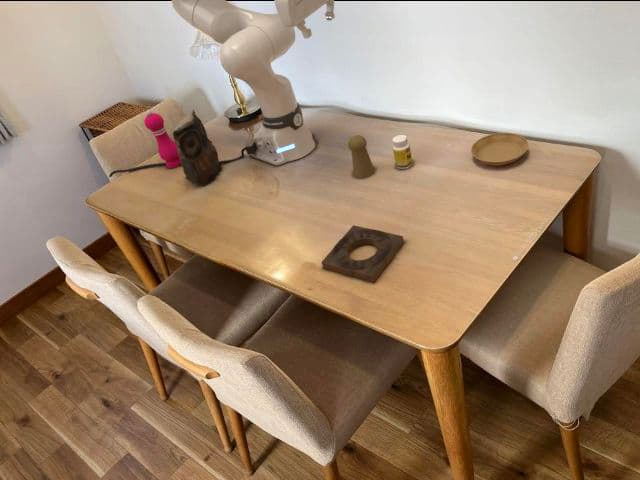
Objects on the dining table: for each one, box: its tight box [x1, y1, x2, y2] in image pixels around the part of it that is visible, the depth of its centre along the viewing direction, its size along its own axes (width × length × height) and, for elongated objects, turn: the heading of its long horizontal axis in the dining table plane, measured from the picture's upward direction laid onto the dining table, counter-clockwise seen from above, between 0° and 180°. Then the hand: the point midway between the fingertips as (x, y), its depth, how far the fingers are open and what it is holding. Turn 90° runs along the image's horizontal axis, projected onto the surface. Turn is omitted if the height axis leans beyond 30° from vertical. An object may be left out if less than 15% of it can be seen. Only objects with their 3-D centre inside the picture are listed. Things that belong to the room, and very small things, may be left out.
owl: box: [172, 109, 222, 187], centre depth 156 cm, size 13×13×20 cm
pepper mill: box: [143, 109, 181, 169], centre depth 168 cm, size 7×7×20 cm
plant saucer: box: [470, 132, 530, 167], centre depth 134 cm, size 15×15×3 cm
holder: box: [321, 224, 405, 283], centre depth 116 cm, size 14×14×2 cm
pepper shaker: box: [347, 134, 375, 179], centre depth 140 cm, size 6×6×11 cm
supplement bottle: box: [392, 134, 413, 170], centre depth 139 cm, size 5×5×8 cm
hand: (319, 28), depth 126 cm, fingers open, 8 cm apart
